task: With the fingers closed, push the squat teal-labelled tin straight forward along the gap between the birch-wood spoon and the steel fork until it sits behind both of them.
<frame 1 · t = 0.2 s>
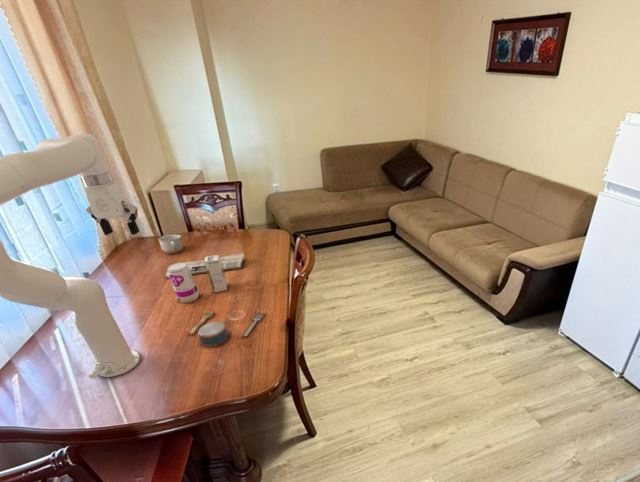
hand: (122, 233, 127), 36 cm above the table, tool pointing down, fingers open, 9 cm apart
newspaper: (208, 268, 188), on the table
tin: (215, 339, 137), on the table
teacup: (174, 252, 207), on the table
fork: (253, 324, 143), on the table
supplement can: (189, 299, 163), on the table
syrup box: (221, 289, 169), on the table
spoon: (201, 323, 146), on the table
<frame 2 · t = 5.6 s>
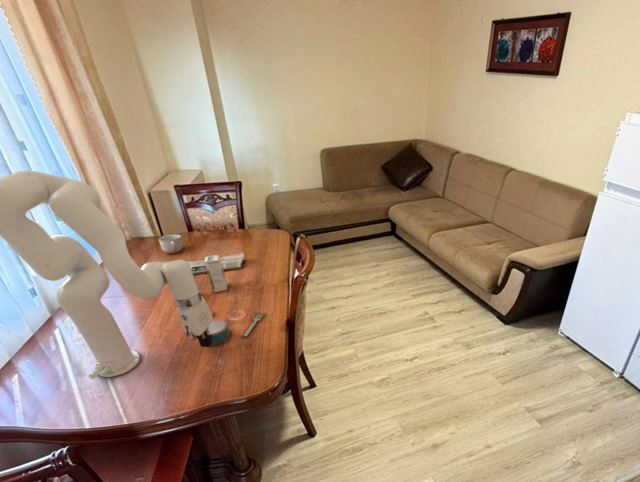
hand: (206, 345, 131), 2 cm above the table, tool pointing down, fingers closed
tin: (217, 337, 138), on the table, touching gripper
everything else where it was.
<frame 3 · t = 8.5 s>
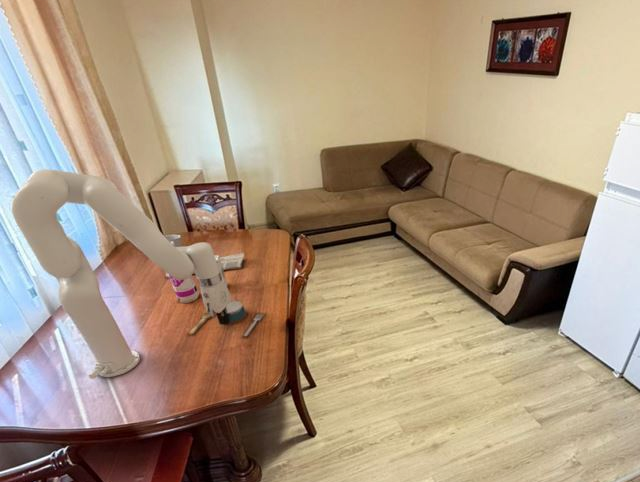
hand: (224, 323, 142), 2 cm above the table, tool pointing down, fingers closed
tin: (233, 317, 149), on the table, touching gripper
everything else where it was.
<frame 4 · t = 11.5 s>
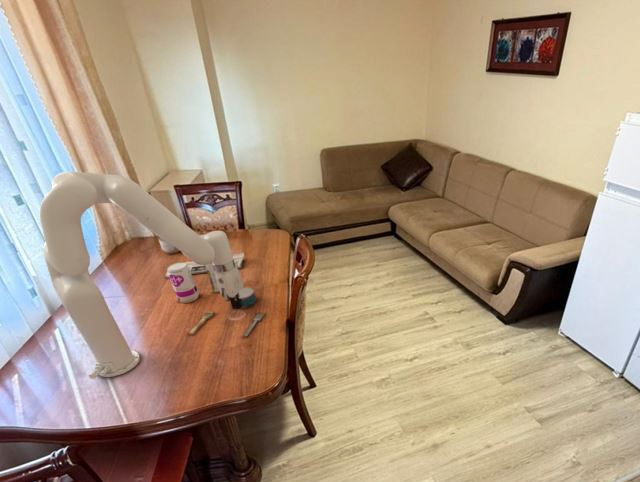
hand: (237, 308, 151), 2 cm above the table, tool pointing down, fingers closed
tin: (245, 302, 157), on the table, touching gripper
everything else where it was.
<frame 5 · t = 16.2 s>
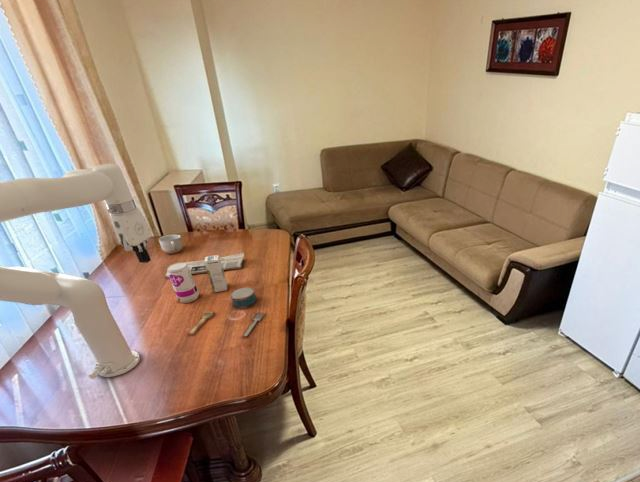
hand: (145, 261, 130), 27 cm above the table, tool pointing down, fingers closed
tin: (245, 302, 157), on the table
everything else where it was.
at the end: tin inside the target area (2.9 cm from its centre), on the table; tin tilted 0° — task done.
